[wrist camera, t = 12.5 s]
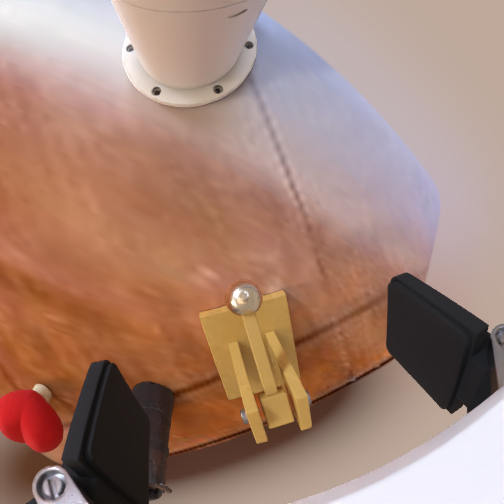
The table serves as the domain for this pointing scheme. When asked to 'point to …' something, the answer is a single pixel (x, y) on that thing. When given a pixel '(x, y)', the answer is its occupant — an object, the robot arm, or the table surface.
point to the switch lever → (259, 350)
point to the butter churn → (156, 432)
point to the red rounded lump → (31, 419)
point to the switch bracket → (243, 363)
